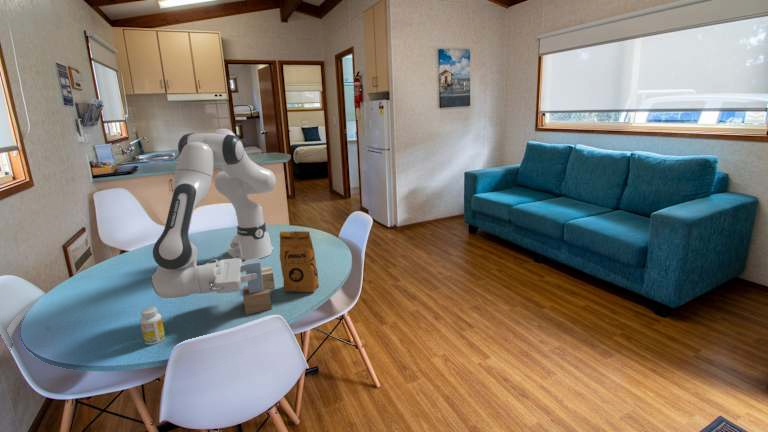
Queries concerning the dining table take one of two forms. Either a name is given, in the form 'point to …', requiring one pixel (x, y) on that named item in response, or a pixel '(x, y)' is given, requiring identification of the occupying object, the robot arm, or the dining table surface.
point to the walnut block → (257, 300)
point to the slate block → (257, 284)
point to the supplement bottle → (152, 326)
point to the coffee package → (298, 262)
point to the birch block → (268, 277)
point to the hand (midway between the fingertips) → (256, 270)
